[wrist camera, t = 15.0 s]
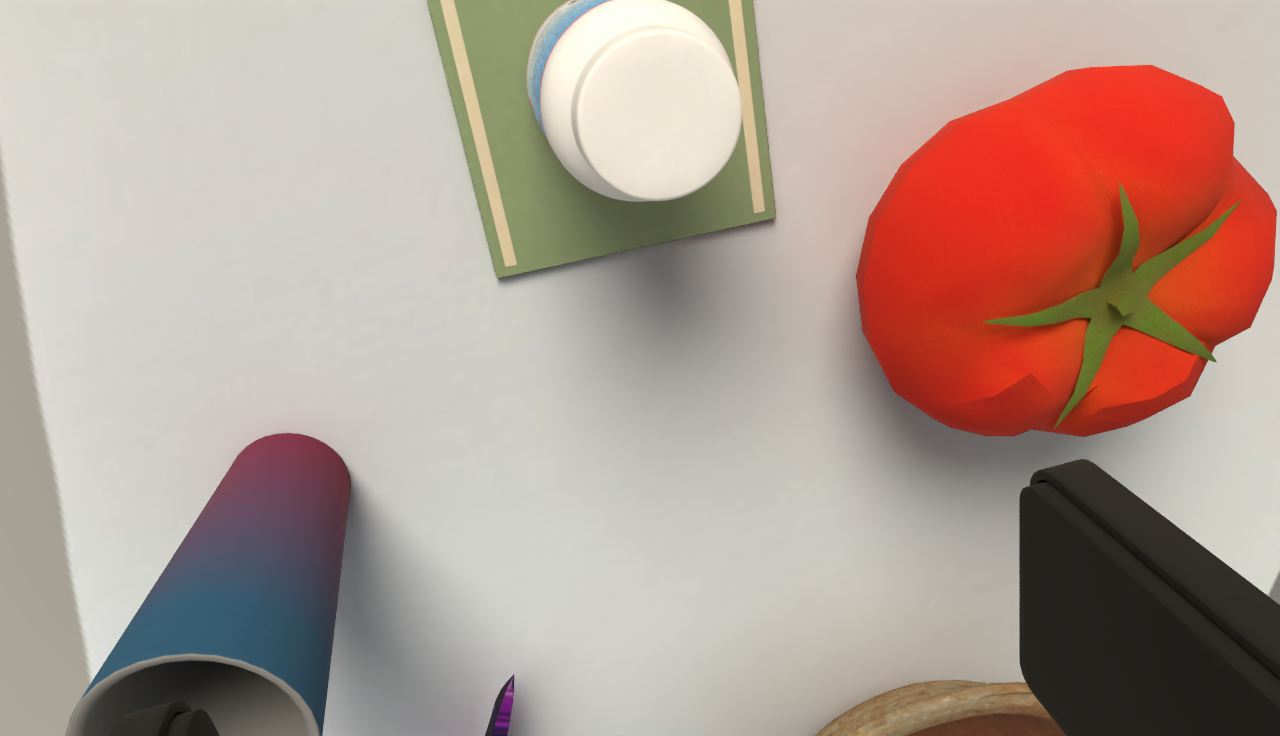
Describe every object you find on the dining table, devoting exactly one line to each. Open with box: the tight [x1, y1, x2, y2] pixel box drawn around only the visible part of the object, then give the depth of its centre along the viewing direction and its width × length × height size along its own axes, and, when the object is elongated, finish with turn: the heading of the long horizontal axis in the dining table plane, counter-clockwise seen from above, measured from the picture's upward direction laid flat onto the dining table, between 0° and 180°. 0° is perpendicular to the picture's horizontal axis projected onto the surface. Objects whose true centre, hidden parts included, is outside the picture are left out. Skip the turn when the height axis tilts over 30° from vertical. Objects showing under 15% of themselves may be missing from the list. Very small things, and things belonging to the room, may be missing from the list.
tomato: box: [856, 65, 1277, 437], centre depth 36 cm, size 14×16×10 cm
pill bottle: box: [526, 0, 742, 202], centre depth 30 cm, size 6×6×11 cm
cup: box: [66, 433, 351, 736], centre depth 33 cm, size 7×7×15 cm
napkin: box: [427, 0, 776, 278], centre depth 35 cm, size 14×12×1 cm
